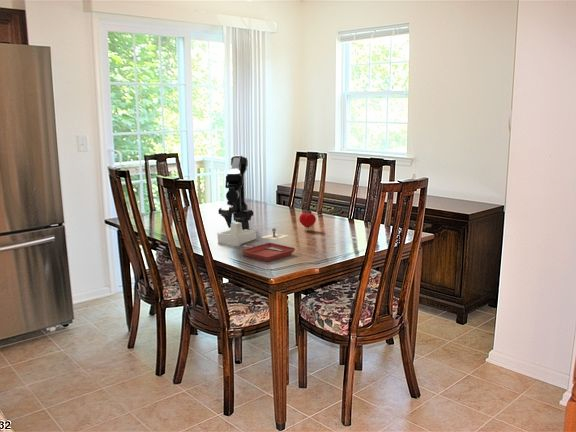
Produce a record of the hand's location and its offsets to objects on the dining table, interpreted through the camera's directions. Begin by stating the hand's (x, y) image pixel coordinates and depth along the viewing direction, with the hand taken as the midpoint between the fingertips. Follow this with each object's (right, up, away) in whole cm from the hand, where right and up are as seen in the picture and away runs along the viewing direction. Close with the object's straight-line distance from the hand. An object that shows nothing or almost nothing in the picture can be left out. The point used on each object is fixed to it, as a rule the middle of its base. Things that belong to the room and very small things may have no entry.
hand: (236, 228), depth 282 cm
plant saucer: (+17, -12, -24) cm, 32 cm away
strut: (0, -6, +1) cm, 6 cm away
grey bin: (0, -6, +1) cm, 7 cm away
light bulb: (+36, -2, +18) cm, 40 cm away
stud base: (+19, -5, +6) cm, 20 cm away
